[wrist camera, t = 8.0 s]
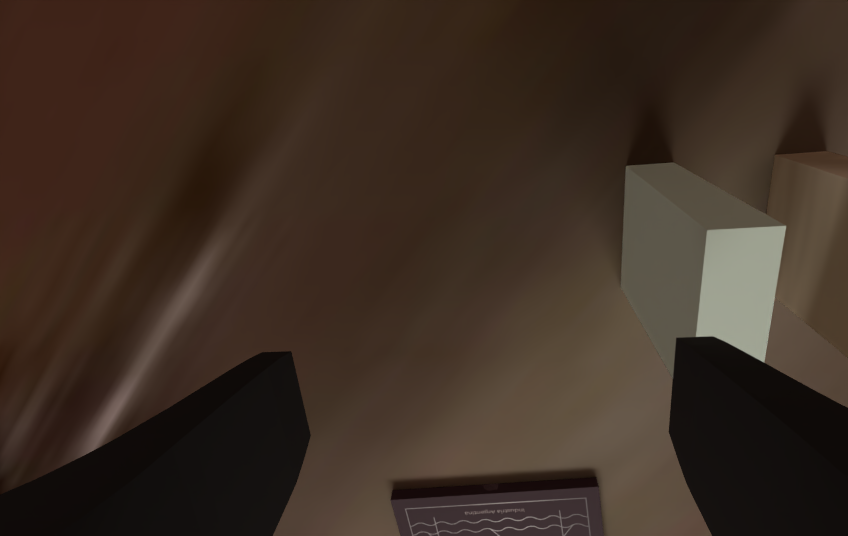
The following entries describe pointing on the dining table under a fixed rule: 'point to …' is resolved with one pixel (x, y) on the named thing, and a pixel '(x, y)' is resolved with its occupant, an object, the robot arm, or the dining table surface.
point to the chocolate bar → (501, 509)
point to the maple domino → (813, 240)
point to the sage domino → (697, 261)
